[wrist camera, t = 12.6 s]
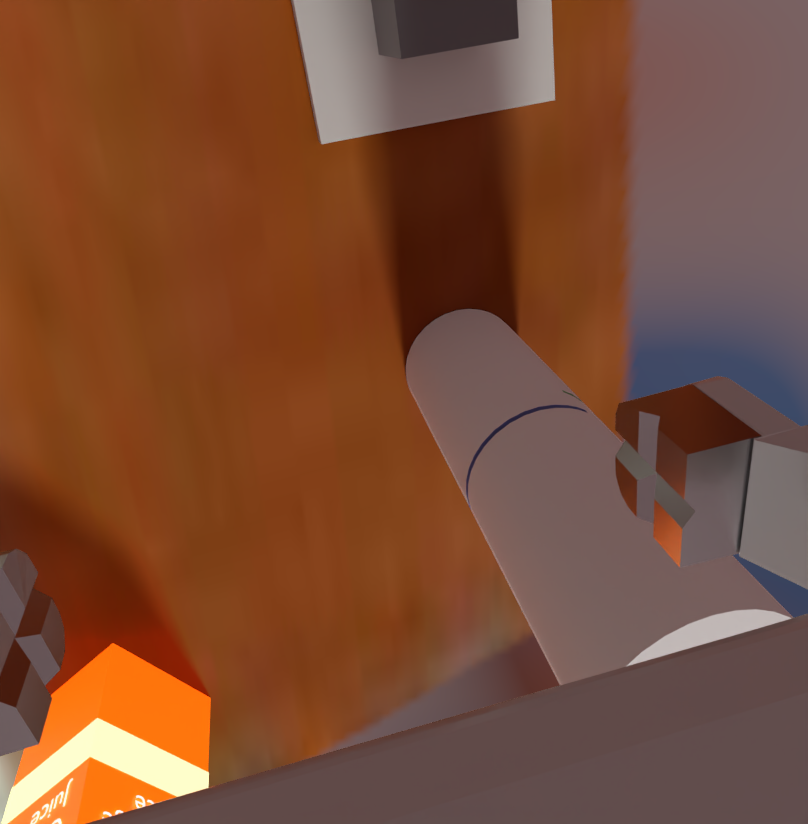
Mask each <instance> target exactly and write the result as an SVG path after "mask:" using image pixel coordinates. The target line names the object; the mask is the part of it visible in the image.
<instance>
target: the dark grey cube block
mask: <svg viewBox="0 0 808 824" xmlns="http://www.w3.org/2000/svg"><path fill="white" fill-rule="evenodd" d="M371 3H372V10H373V17H374V24H375V31H376V38H377V45H378V52H379V55H383V56H388V57H393V58H398V59H405V58H411V57H416V56H422V55H428V54H433V53H439V52H445V51H450V50H456V49H462V48H467V47H473V46H479V45H484V44H490V43H496V42H501V41H507V40H512V39H518V38H519V31H518V12H517V0H371Z"/></svg>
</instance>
